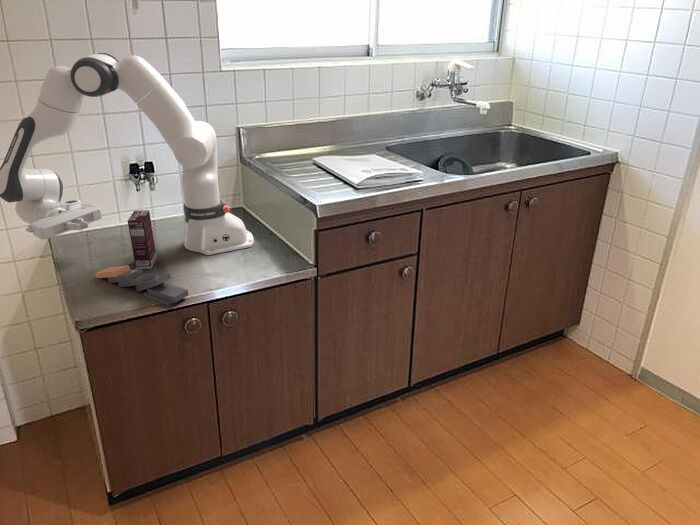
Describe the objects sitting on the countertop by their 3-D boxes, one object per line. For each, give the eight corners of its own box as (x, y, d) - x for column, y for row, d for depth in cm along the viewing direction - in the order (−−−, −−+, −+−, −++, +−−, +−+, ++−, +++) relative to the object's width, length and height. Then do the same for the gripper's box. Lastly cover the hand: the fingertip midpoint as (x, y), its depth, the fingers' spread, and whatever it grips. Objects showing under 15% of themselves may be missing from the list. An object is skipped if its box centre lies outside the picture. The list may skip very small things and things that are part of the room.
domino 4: (135, 286, 166) (155, 279, 160) (148, 279, 170) (168, 272, 163) (137, 292, 166) (157, 285, 160) (151, 284, 170) (171, 277, 164)
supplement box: (141, 257, 186) (133, 210, 180) (157, 257, 187) (150, 209, 180) (134, 269, 179) (126, 220, 172) (151, 269, 179) (143, 220, 172)
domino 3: (117, 281, 168) (138, 279, 162) (132, 275, 172) (152, 272, 166) (119, 287, 169) (140, 284, 163) (134, 280, 172) (154, 278, 166)
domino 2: (107, 277, 170) (126, 275, 164) (121, 271, 174) (141, 268, 168) (109, 283, 171) (128, 280, 165) (123, 276, 174) (143, 274, 168)
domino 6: (147, 288, 162) (174, 297, 158) (160, 281, 166) (187, 289, 162) (148, 294, 163) (175, 302, 159) (161, 286, 167) (188, 294, 163)
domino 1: (95, 273, 173) (113, 271, 167) (110, 267, 177) (128, 265, 171) (97, 278, 173) (115, 276, 167) (112, 272, 177) (130, 270, 171)
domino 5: (143, 292, 164) (167, 302, 159) (158, 285, 168) (182, 295, 163) (144, 297, 165) (168, 308, 159) (158, 290, 168) (182, 300, 163)
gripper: (19, 218, 171) (47, 228, 164) (82, 198, 186) (110, 205, 179) (25, 239, 174) (53, 249, 167) (86, 216, 189) (114, 225, 182)
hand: (83, 226), depth 173 cm, fingers closed
